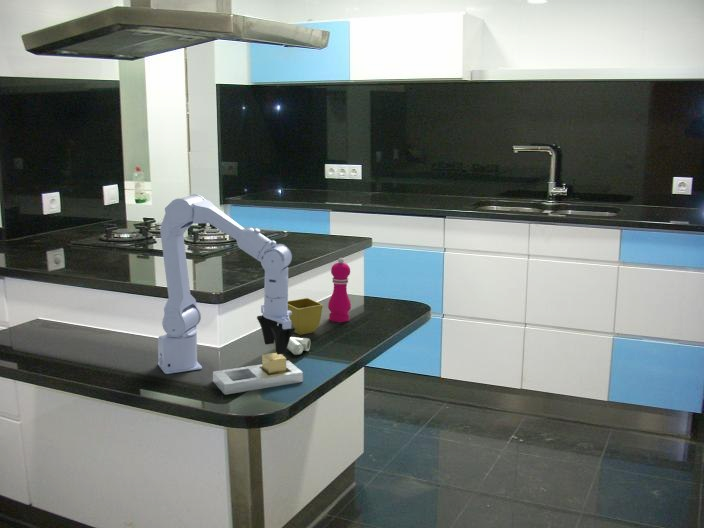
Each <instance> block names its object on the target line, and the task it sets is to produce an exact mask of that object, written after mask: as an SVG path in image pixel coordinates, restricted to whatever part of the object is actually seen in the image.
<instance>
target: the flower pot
mask: <svg viewBox="0 0 704 528" xmlns="http://www.w3.org/2000/svg"><path fill="white" fill-rule="evenodd" d="M323 307H324V306H323V304H322V303H320V302H318V301H315V300H313V299H311V298H309V297H305V298H298V299H294V300H288V310H290V311H291V312H292V315H289V319H290V320H291V325H293V326H294V327H295V331H294V332H293V333H295V334H297V335H298V336H302V335H305V334H312V333H314V332H316V330H317V328H318V327H319V324H320V321H321V318H322V311H323Z"/></svg>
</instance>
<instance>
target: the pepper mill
mask: <svg viewBox="0 0 704 528" xmlns="http://www.w3.org/2000/svg"><path fill="white" fill-rule="evenodd" d="M337 261H338V262H337V263H334V264H333V265H332V266H331V269H330V272H331V273H330V274H331V275H332V276H333V277H332V280H331V281H332V284H333V290H332V294H331V296H330V298H329V301H328V304H327V305H328V306H327V308H328V310H329V311H330V313H329V317H328V318H329V321H331V322H335V323H346V322H348V321H349V320H350V314H349V312H350V311H351V309H352V304H351V300H350V297H349V295H348V291H347V286H348V283H349V276H350V274H351V268H350V266H349V265H348V264H347V263H346V262H345V260H344V258H343V257H339V258H338V260H337Z"/></svg>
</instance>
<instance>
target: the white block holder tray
mask: <svg viewBox="0 0 704 528" xmlns="http://www.w3.org/2000/svg"><path fill="white" fill-rule="evenodd" d="M303 381H304V372H303V371H302V370H301V369H300V368H298V367H297V366H296V365H295V364H294V363H293V362H292V361H290V360H287V359H286V373H281V374H274V375H267V374H266V373H265V372H264V371H263V370H262V363H261V364H257V365H255V364H254V365H247V366H242V367H234V368H228V369H222V370H214V371H212V382H213V383H214V384H215V385H216V386H217V388H218V389H219V391H221V393H222V394H224V395H230V394H231V395H232V394H237V393H244V392H250V391H256V390H262V389H267V388H275V387H280V386H285V385H286V386H287V385H291V384H298V383H302V382H303ZM303 383H304V382H303Z"/></svg>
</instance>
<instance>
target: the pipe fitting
mask: <svg viewBox="0 0 704 528" xmlns="http://www.w3.org/2000/svg"><path fill="white" fill-rule="evenodd" d="M310 348H311V339H310V338H307V337H296V336H291V337H290V340H289V343H288V346H287V350H288V351H290V352H291V354H293V355H294V356H297V355H301V354H302V353H303V351H304V352H309V351H310Z"/></svg>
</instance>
